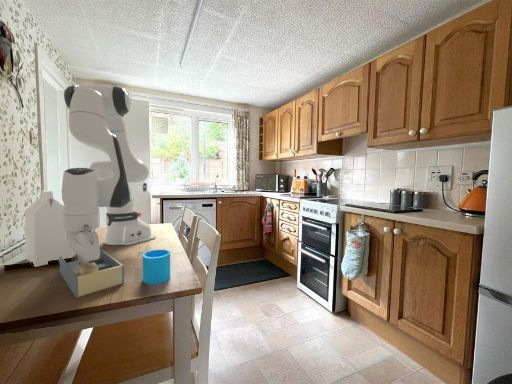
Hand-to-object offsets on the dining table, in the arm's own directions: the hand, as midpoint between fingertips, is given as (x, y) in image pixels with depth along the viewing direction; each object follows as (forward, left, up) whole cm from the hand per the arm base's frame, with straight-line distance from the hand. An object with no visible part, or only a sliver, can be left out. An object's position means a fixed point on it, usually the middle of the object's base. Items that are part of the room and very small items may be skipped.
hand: (83, 267), depth 72 cm
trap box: (-2, -2, -5) cm, 5 cm away
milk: (+4, -32, -5) cm, 32 cm away
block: (0, +7, -2) cm, 7 cm away
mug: (-17, +11, -5) cm, 21 cm away
